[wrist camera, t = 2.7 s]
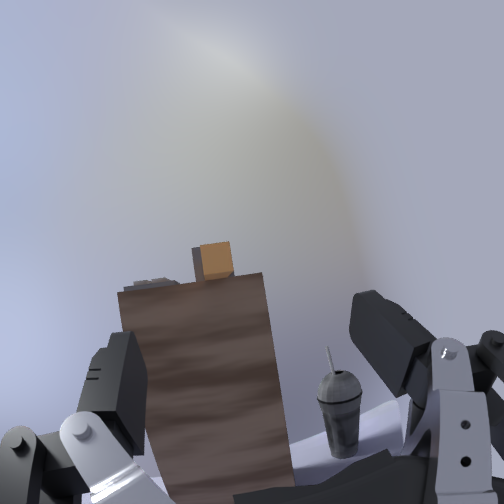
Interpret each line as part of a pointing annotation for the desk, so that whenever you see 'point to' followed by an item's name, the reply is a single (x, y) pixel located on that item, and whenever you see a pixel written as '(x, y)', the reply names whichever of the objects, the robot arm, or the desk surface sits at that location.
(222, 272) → the mallet
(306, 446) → the desk surface
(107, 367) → the robot arm
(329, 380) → the beverage cup
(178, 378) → the brown wooden tall block
